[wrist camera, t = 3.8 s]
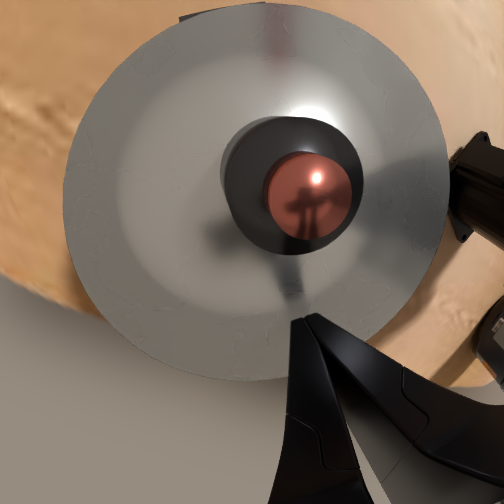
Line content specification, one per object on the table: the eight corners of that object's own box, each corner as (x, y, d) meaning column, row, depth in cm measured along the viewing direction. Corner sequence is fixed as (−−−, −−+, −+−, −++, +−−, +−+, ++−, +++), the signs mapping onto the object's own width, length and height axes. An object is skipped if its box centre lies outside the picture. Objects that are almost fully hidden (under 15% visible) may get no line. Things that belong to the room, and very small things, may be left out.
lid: (30, 96, 5) (-46, 99, 2) (406, 17, 6) (480, 2, 3) (167, 387, 10) (168, 456, 8) (421, 302, 11) (464, 349, 8)
